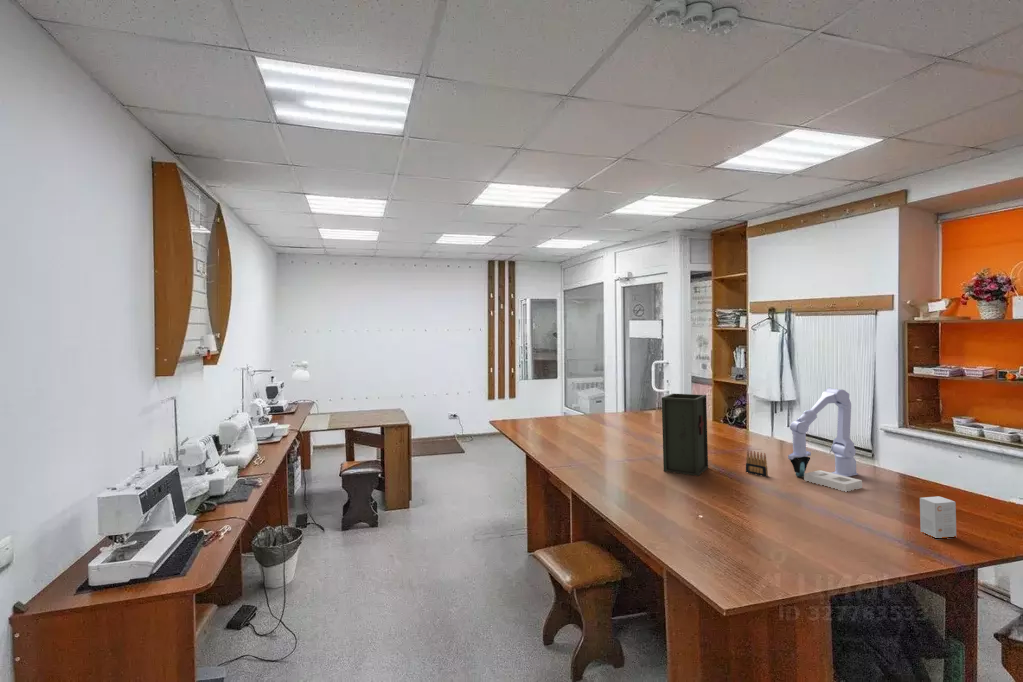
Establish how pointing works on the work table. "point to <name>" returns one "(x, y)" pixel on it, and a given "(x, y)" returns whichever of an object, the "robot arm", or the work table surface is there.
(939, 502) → the small box
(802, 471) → the teal cylinder
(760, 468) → the ammunition clip
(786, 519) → the work table surface
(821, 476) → the bore block
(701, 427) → the dark green bin
